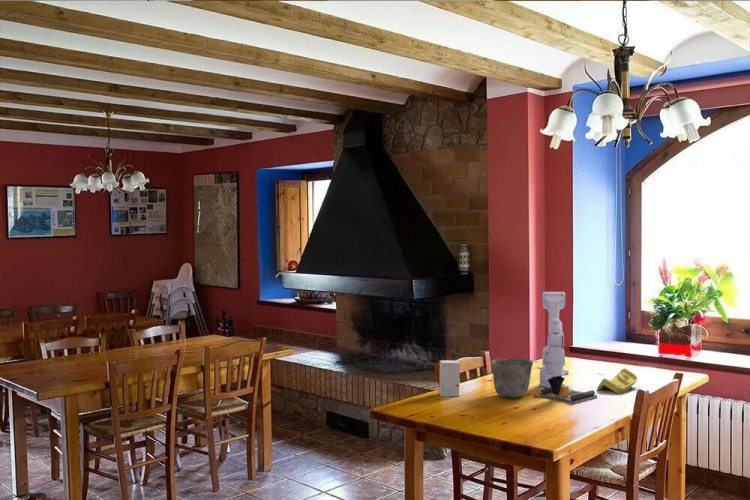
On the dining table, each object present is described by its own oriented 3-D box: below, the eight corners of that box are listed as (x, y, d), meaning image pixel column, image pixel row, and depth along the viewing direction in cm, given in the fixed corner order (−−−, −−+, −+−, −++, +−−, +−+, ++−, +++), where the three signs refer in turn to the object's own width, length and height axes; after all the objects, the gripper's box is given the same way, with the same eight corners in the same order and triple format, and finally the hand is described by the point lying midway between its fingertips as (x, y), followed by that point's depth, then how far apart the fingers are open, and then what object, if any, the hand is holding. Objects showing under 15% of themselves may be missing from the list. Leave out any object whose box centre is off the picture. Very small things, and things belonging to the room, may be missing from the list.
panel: (538, 395, 298) (538, 392, 298) (562, 390, 308) (562, 387, 308) (574, 404, 284) (574, 401, 284) (597, 397, 294) (597, 394, 294)
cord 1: (539, 393, 298) (539, 388, 298) (561, 388, 307) (561, 383, 307) (543, 394, 296) (543, 389, 296) (565, 388, 305) (565, 384, 305)
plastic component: (621, 389, 299) (601, 376, 305) (615, 403, 302) (595, 390, 308) (641, 378, 313) (622, 366, 319) (634, 391, 316) (615, 379, 322)
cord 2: (568, 400, 286) (568, 395, 286) (590, 394, 295) (590, 389, 295) (573, 401, 284) (573, 396, 284) (594, 395, 293) (594, 390, 293)
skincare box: (440, 397, 298) (440, 362, 298) (439, 393, 304) (438, 359, 304) (460, 396, 299) (460, 362, 298) (458, 393, 305) (457, 359, 304)
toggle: (555, 394, 294) (555, 384, 294) (560, 393, 296) (560, 383, 296) (563, 396, 291) (563, 386, 290) (568, 395, 293) (568, 385, 292)
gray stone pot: (502, 389, 310) (502, 356, 310) (539, 394, 300) (539, 360, 300) (484, 397, 296) (484, 362, 295) (523, 403, 286) (523, 367, 285)
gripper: (552, 366, 283) (552, 399, 283) (574, 361, 292) (574, 393, 292) (538, 363, 288) (538, 395, 289) (560, 358, 297) (560, 390, 298)
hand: (555, 394), depth 291 cm, fingers closed
